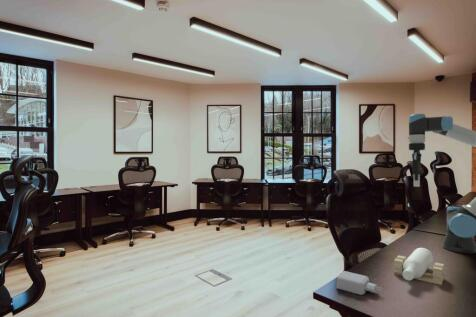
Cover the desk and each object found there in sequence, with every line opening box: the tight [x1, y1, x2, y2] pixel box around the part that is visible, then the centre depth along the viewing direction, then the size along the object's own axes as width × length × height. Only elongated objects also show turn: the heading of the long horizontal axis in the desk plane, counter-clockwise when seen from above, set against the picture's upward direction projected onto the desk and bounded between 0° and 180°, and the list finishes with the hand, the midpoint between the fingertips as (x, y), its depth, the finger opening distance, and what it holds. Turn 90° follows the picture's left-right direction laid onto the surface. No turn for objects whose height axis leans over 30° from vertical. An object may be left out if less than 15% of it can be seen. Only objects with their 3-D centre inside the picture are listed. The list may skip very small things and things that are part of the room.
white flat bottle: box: [336, 270, 383, 296], centre depth 113 cm, size 5×9×15 cm
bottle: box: [402, 247, 434, 281], centre depth 126 cm, size 8×8×30 cm
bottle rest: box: [393, 255, 445, 286], centre depth 126 cm, size 8×17×6 cm, turn 51°
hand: (416, 186), depth 161 cm, fingers closed
